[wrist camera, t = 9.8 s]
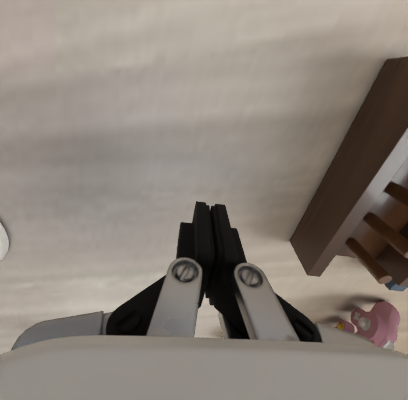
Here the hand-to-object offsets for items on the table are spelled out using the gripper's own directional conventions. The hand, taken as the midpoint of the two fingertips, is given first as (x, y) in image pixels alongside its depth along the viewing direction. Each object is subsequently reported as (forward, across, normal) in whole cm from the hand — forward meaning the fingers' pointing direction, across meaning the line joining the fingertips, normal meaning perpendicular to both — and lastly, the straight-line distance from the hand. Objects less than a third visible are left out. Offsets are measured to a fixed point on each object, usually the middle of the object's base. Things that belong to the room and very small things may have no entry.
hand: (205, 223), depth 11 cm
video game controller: (+6, -25, +18) cm, 31 cm away
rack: (+6, -15, -2) cm, 16 cm away
